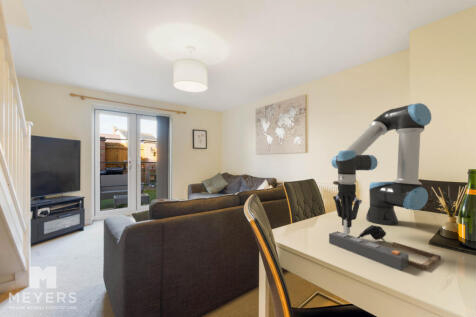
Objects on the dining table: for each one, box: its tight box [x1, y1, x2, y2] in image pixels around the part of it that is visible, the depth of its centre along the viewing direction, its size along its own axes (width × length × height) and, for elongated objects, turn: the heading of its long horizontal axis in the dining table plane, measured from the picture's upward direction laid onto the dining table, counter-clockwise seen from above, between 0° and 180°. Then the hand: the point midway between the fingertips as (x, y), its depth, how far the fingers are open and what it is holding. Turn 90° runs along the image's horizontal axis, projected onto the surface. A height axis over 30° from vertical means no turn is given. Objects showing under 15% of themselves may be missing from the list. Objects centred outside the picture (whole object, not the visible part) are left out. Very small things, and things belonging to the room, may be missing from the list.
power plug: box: [357, 224, 387, 243], centre depth 91 cm, size 6×8×12 cm
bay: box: [392, 241, 442, 272], centre depth 76 cm, size 14×14×2 cm
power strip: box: [328, 230, 410, 271], centre depth 80 cm, size 6×26×5 cm, turn 31°
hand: (346, 233), depth 97 cm, fingers closed
